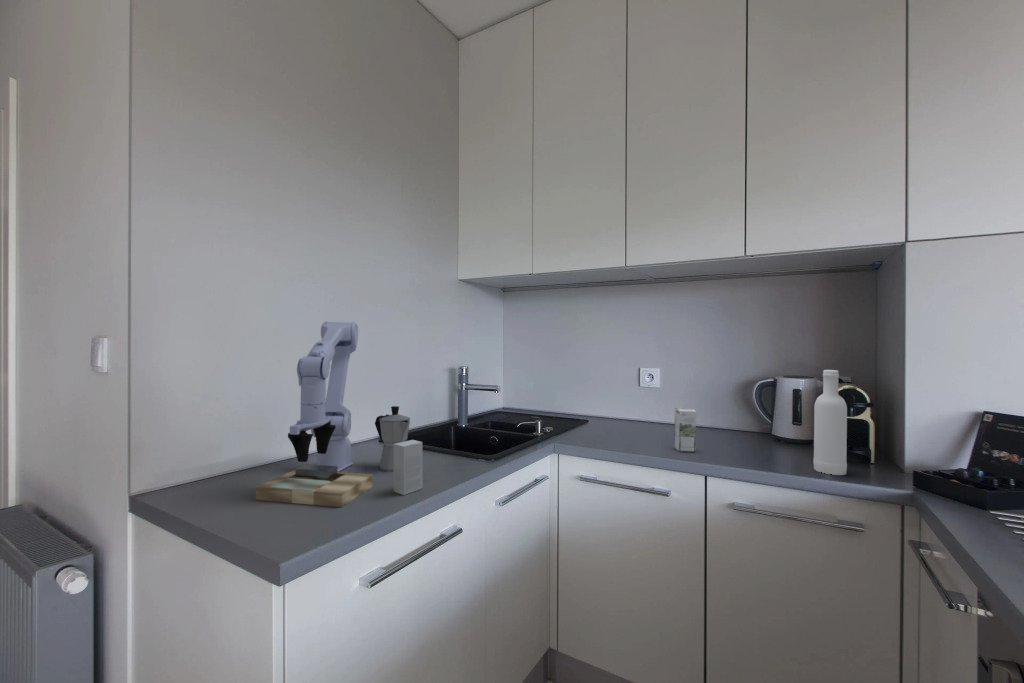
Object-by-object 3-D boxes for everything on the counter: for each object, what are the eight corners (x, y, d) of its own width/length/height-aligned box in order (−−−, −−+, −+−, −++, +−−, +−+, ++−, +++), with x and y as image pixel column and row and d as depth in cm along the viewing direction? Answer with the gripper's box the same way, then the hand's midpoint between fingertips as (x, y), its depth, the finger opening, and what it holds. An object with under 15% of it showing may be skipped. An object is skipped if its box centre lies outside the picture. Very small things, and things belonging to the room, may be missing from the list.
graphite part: (305, 472, 109) (306, 464, 109) (337, 474, 108) (337, 466, 108) (295, 477, 106) (295, 468, 106) (328, 479, 104) (328, 471, 104)
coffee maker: (420, 467, 125) (421, 406, 125) (397, 474, 118) (397, 410, 118) (387, 459, 134) (387, 402, 134) (363, 465, 126) (364, 405, 126)
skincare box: (412, 485, 109) (412, 439, 109) (423, 489, 107) (423, 441, 107) (392, 491, 105) (392, 443, 105) (402, 495, 102) (403, 446, 102)
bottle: (846, 477, 119) (847, 371, 119) (812, 471, 124) (813, 370, 124) (846, 470, 126) (847, 370, 126) (814, 465, 131) (815, 368, 131)
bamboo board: (296, 480, 112) (296, 467, 112) (372, 486, 108) (373, 473, 108) (255, 499, 98) (255, 485, 98) (341, 507, 95) (341, 492, 95)
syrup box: (690, 448, 151) (690, 407, 151) (696, 452, 145) (696, 410, 145) (674, 447, 151) (674, 407, 151) (678, 452, 146) (679, 410, 146)
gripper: (316, 399, 115) (316, 449, 115) (278, 407, 101) (277, 464, 101) (340, 400, 114) (340, 450, 114) (305, 408, 99) (304, 466, 99)
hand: (312, 457), depth 107 cm, fingers open, 7 cm apart
